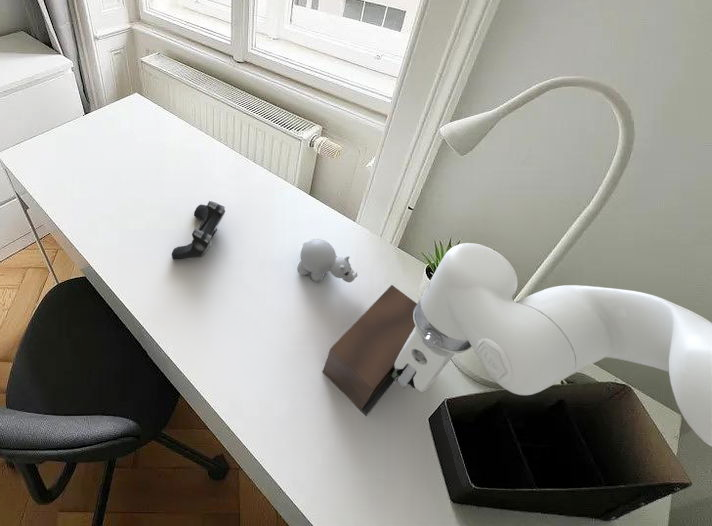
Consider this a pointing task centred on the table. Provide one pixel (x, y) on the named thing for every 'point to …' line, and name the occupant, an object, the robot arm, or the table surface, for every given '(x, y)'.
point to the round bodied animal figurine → (324, 261)
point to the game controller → (201, 231)
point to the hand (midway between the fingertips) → (407, 377)
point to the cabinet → (371, 349)
